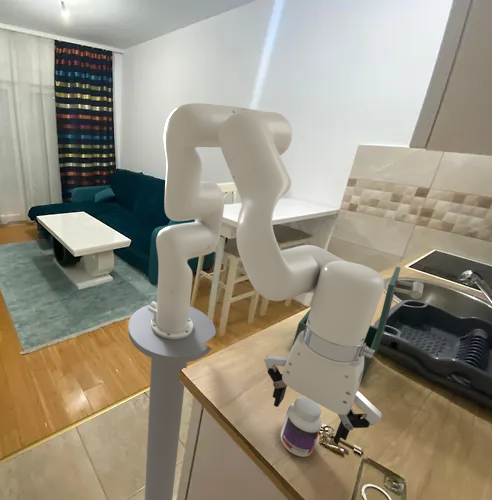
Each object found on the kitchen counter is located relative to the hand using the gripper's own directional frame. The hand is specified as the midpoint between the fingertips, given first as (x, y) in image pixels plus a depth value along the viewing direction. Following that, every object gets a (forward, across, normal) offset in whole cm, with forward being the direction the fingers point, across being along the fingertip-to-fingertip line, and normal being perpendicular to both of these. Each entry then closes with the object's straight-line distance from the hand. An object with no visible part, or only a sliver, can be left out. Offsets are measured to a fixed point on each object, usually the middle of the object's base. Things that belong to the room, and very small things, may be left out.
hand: (306, 418), depth 51 cm
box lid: (-11, -4, -32) cm, 34 cm away
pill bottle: (+7, 0, 0) cm, 7 cm away
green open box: (+7, +2, -32) cm, 33 cm away
